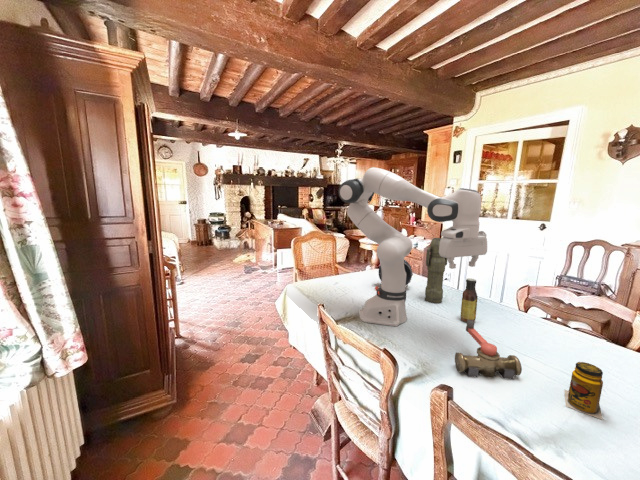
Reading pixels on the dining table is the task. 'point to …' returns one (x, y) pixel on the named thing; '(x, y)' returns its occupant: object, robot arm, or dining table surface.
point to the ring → (407, 270)
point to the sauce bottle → (469, 301)
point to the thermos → (434, 273)
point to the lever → (481, 340)
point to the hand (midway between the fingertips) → (462, 267)
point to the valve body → (488, 365)
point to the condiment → (585, 389)
